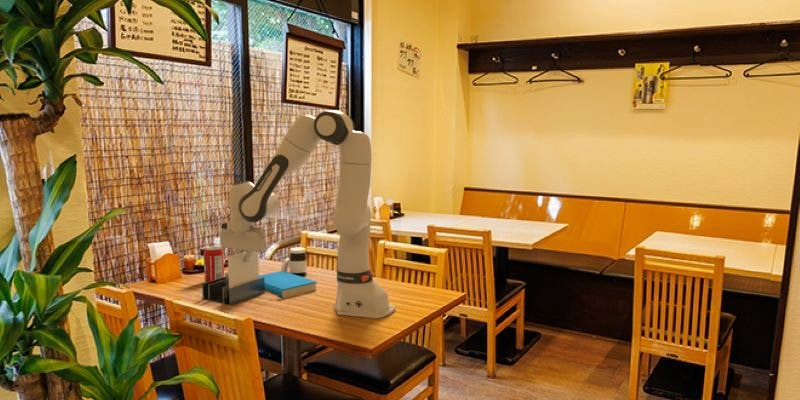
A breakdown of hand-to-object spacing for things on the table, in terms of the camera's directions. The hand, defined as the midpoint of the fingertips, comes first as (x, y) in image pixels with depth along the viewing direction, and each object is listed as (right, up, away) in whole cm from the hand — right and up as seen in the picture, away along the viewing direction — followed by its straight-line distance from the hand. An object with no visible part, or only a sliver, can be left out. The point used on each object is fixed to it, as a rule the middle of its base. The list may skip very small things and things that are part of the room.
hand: (243, 261), depth 204 cm
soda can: (-20, -12, +27) cm, 36 cm away
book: (+10, -14, +20) cm, 26 cm away
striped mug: (+11, -11, +42) cm, 45 cm away
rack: (-5, -15, +4) cm, 16 cm away
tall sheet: (0, -13, +1) cm, 13 cm away
